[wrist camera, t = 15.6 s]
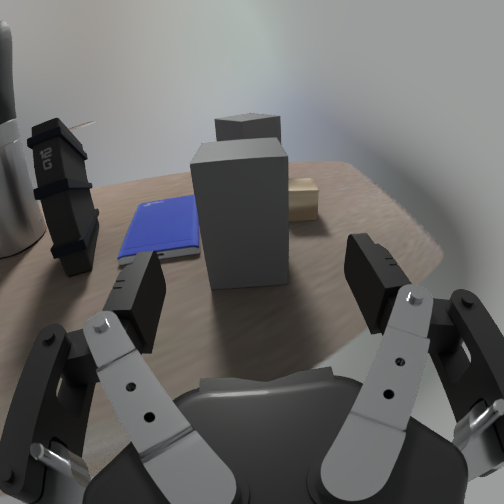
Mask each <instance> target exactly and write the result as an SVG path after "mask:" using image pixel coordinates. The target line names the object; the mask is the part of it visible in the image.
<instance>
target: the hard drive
mask: <svg viewBox="0 0 504 504" xmlns="http://www.w3.org/2000/svg"><path fill="white" fill-rule="evenodd" d="M153 250H155V251H156V252H157V255H158V258H159V259H163V258H170V257H177V256H184V255H191V254H198V253H200V226H199V220H198V214H197V208H196V202H195V195H189V196H182V197H176V198H170V199H164V200H158V201H152V202H147V203H142V204H140V205H139V206H138V208H137V210H136V212H135V215H134V217H133V220H132V222H131V224H130V227H129V229H128V232H127V234H126V237H125V239H124V242H123V244H122V247H121V250H120V252H119V255H118V258H117V259H118V262H119V265H122V264H129V263H133V261H134V259H135V257H136V254H137V253H138V252H143V251H153Z"/></svg>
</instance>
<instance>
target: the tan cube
mask: <svg viewBox="0 0 504 504" xmlns="http://www.w3.org/2000/svg"><path fill="white" fill-rule="evenodd" d="M288 183H289V221H307V220H317V213H318V191H319V190H318V188H317V187H316V185H315V183H314V182H313V180H312V178H306V179H288Z"/></svg>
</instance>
